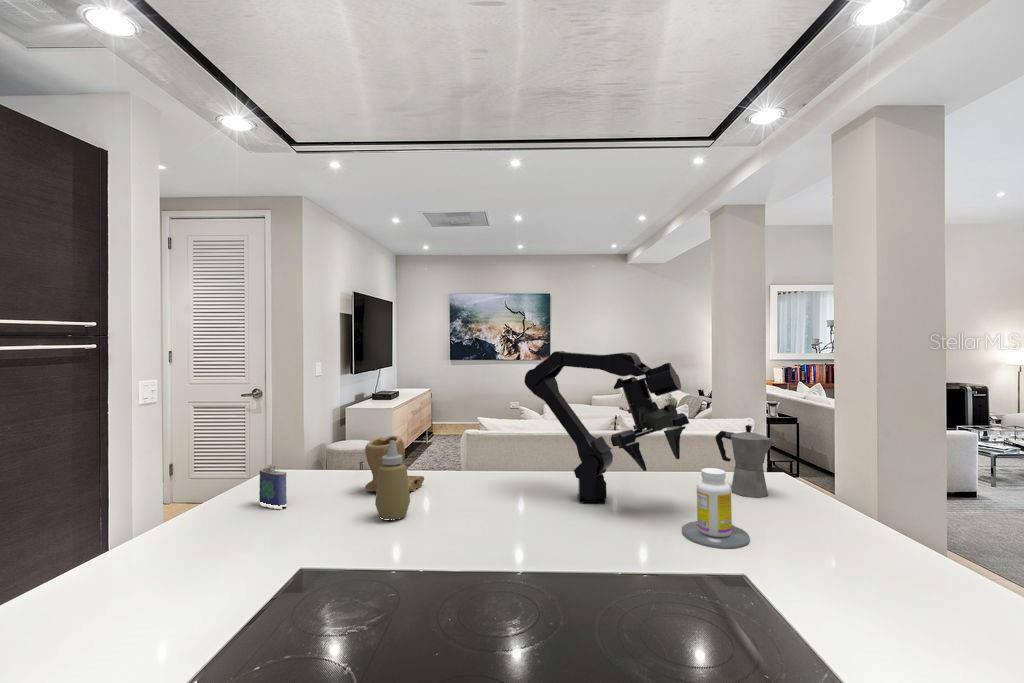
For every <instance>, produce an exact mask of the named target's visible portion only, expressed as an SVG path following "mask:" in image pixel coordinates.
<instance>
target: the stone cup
mask: <svg viewBox="0 0 1024 683" xmlns="http://www.w3.org/2000/svg"><path fill="white" fill-rule="evenodd" d="M390 440H395V444H396V448H397V452H398V454H400V455H402V463H403V464H405V463H404V462H405V456H406V452H405V451H406V449H405V443H404V441H403V439H402V437H400V436H398V435H388V436H387V437H376V438H375V439H372V440H370V441H369V442H367V443H366V445H365V449H364V450H365V457H366V460H367V465H368V466H369V469H370V471H371V474H372V480H371V481H369V482H368V483H367V484H365V487H364V488H365V490H366V491H367V492H374V491H375V492H374V493H376V489H377V478H378V468H379V467H380V466H381V465H383V464H382V457H383V456H385V455H387V452H388V447H389V442H390ZM407 476H408V485H409V492H412V491H413V490H414V489H416V488H417V489H419V488H420V487H421V486H422V484H423V482H424V481H425V476H423V475H407ZM418 487H419V488H418ZM417 489H416V490H417ZM414 491H415V490H414Z"/></svg>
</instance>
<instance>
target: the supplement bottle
mask: <svg viewBox="0 0 1024 683" xmlns="http://www.w3.org/2000/svg"><path fill="white" fill-rule="evenodd" d="M700 471H701V472H700V473H701V475H700V476H701V478H702V480H700V481H698V483H697V484H696V516H697V518H696V521H697V524H698V529H699V531H700V532H701V533H703V534H705V535H708V536H713V537H727V536H729V535H730V534H731V533H732V525H733V520H732V515H733V512H732V489H731V487H730V485H729V483H727V482H725V479H726V477H727V476H726V475H727V473H726V471H725V470H723V469H722V468H721V469H720V468H716V467H715V468H714V467H705V468H702V469H701V470H700Z"/></svg>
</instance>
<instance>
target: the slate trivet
mask: <svg viewBox="0 0 1024 683" xmlns="http://www.w3.org/2000/svg"><path fill="white" fill-rule="evenodd" d="M681 534H682V535H683V536H684V537H685V538H686V539H688V540H689V541H691V542H693V543H695V544H697V545H701V546H705V547H710V548H714V549H715V548H716V549H725V550H727V549H729V550H730V549H739V548H740V549H741V548H743V547H746V546H748V544H750V539H751V538H750V535H749V533H748V532H746V530H743V529H742V528H740V527H738V526H735V525H733V524H732V533H731V534H730V535H729V536H727V537H713V536H708V535H705V534H703V533H701V532H700V531H699V529H698V524H697V520H696V521H689V522H687V523H685V524H683V525H682V527H681Z"/></svg>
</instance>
